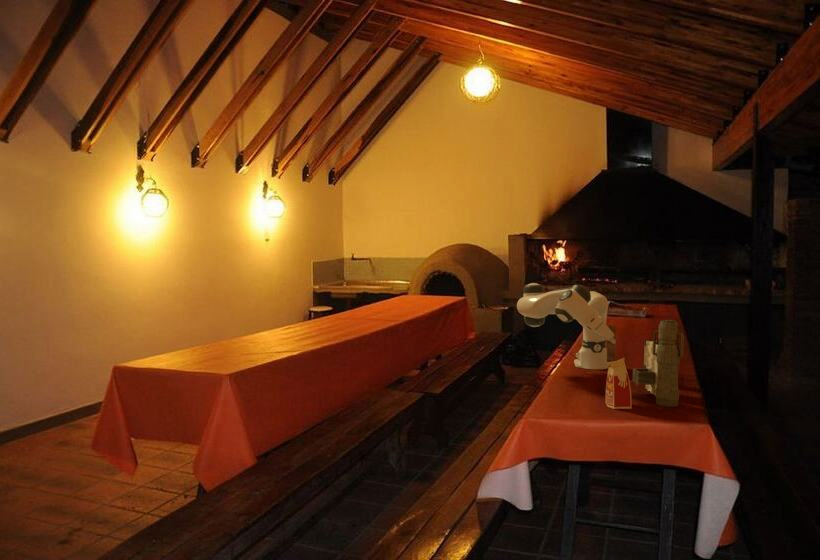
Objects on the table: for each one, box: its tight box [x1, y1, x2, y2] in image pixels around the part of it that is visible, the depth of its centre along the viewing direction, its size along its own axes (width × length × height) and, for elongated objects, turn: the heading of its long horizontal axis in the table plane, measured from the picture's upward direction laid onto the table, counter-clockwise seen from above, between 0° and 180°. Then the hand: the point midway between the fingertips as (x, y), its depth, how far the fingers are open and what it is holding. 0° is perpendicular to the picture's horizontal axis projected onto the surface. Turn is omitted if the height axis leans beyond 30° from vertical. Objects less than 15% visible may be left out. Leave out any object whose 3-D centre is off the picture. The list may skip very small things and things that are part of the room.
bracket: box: [632, 341, 658, 397], centre depth 280 cm, size 16×9×22 cm, turn 1°
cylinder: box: [606, 324, 617, 362], centre depth 279 cm, size 4×4×16 cm
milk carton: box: [605, 357, 633, 410], centre depth 263 cm, size 9×9×20 cm
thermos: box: [652, 318, 685, 408], centre depth 263 cm, size 9×12×35 cm
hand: (612, 341), depth 279 cm, fingers closed on cylinder, 4 cm apart
